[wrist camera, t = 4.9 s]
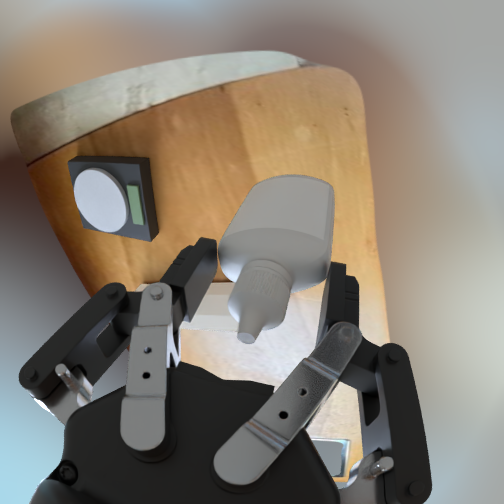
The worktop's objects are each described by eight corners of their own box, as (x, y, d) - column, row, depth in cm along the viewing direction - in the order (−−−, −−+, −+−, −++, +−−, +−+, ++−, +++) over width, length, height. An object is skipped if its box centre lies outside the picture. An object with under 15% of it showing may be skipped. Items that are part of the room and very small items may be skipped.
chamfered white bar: (246, 286, 40) (118, 287, 49) (251, 337, 41) (124, 327, 49) (263, 277, 47) (144, 280, 56) (267, 321, 48) (150, 316, 56)
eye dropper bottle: (267, 151, 19) (188, 268, 10) (345, 189, 19) (341, 337, 10) (245, 204, 22) (170, 334, 12) (316, 237, 22) (287, 385, 13)
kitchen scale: (77, 155, 40) (63, 163, 37) (149, 157, 37) (135, 166, 35) (91, 220, 47) (80, 230, 44) (159, 233, 44) (148, 245, 42)
